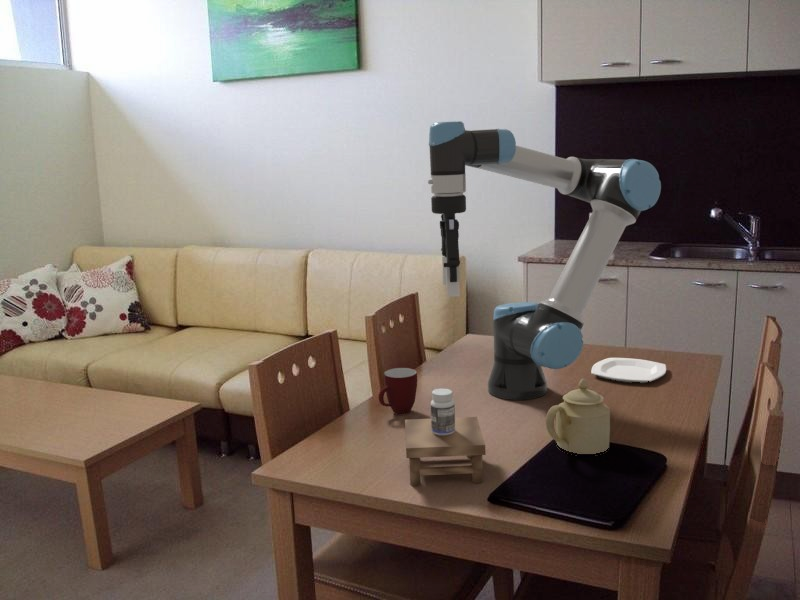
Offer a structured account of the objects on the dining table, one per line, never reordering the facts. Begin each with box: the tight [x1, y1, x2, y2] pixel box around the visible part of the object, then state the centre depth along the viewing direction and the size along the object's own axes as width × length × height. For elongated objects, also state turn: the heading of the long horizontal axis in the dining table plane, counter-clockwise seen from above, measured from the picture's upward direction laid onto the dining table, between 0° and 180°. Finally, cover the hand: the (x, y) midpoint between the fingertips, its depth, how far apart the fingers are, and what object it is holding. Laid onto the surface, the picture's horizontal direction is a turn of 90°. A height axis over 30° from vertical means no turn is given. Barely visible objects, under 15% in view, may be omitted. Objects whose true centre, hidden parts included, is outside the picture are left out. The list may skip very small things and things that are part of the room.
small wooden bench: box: [404, 416, 487, 487], centre depth 153 cm, size 15×15×8 cm
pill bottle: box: [430, 388, 456, 436], centre depth 151 cm, size 5×5×8 cm
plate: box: [590, 357, 667, 384], centre depth 208 cm, size 19×19×2 cm
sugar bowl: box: [545, 378, 611, 454], centre depth 159 cm, size 15×11×15 cm
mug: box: [378, 367, 418, 416], centre depth 185 cm, size 10×8×10 cm
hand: (451, 290), depth 170 cm, fingers open, 13 cm apart
